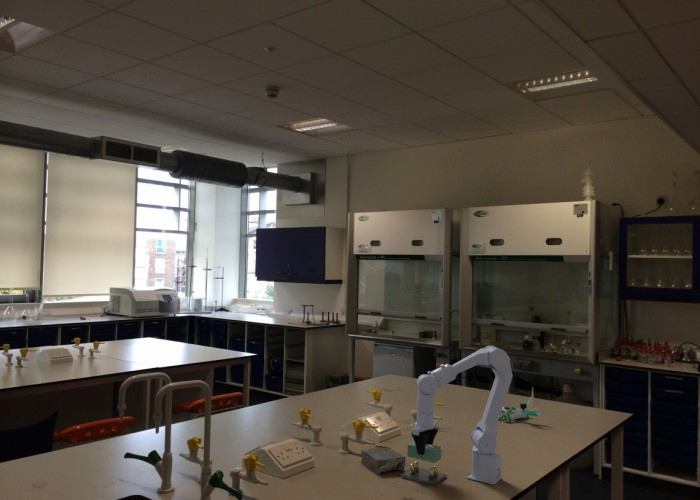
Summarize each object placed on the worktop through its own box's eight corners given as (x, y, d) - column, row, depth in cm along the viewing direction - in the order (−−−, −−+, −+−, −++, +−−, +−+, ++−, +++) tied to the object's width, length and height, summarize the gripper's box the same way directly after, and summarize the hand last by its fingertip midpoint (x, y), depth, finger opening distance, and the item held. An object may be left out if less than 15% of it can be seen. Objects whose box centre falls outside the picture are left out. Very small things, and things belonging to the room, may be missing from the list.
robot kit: (529, 429, 257) (529, 408, 257) (484, 417, 276) (484, 398, 276) (552, 424, 268) (552, 403, 269) (507, 412, 288) (507, 394, 288)
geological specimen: (379, 461, 191) (358, 446, 205) (378, 479, 192) (357, 462, 205) (406, 456, 196) (384, 442, 210) (405, 474, 197) (383, 458, 210)
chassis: (446, 477, 192) (446, 465, 192) (433, 485, 184) (433, 473, 184) (414, 469, 198) (414, 457, 199) (400, 477, 190) (401, 465, 190)
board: (440, 459, 191) (441, 445, 191) (434, 462, 186) (435, 448, 187) (414, 452, 196) (414, 439, 196) (407, 456, 192) (407, 442, 192)
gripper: (424, 405, 200) (423, 444, 200) (404, 413, 188) (403, 455, 187) (442, 408, 196) (441, 448, 196) (424, 417, 184) (422, 459, 184)
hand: (424, 452), depth 191 cm, fingers closed on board, 5 cm apart
